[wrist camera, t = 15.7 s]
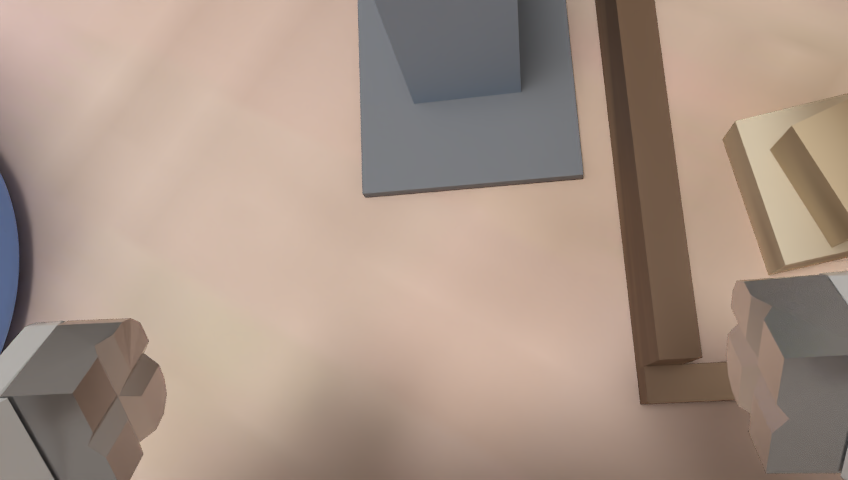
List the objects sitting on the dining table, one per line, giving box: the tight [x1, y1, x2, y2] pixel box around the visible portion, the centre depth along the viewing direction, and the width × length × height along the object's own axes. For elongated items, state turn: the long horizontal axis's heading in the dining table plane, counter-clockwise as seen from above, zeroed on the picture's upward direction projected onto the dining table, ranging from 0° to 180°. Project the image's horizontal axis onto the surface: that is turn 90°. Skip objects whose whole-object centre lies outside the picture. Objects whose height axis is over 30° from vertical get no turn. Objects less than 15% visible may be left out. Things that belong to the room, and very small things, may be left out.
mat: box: [358, 0, 583, 197], centre depth 25 cm, size 7×12×1 cm, turn 3°
